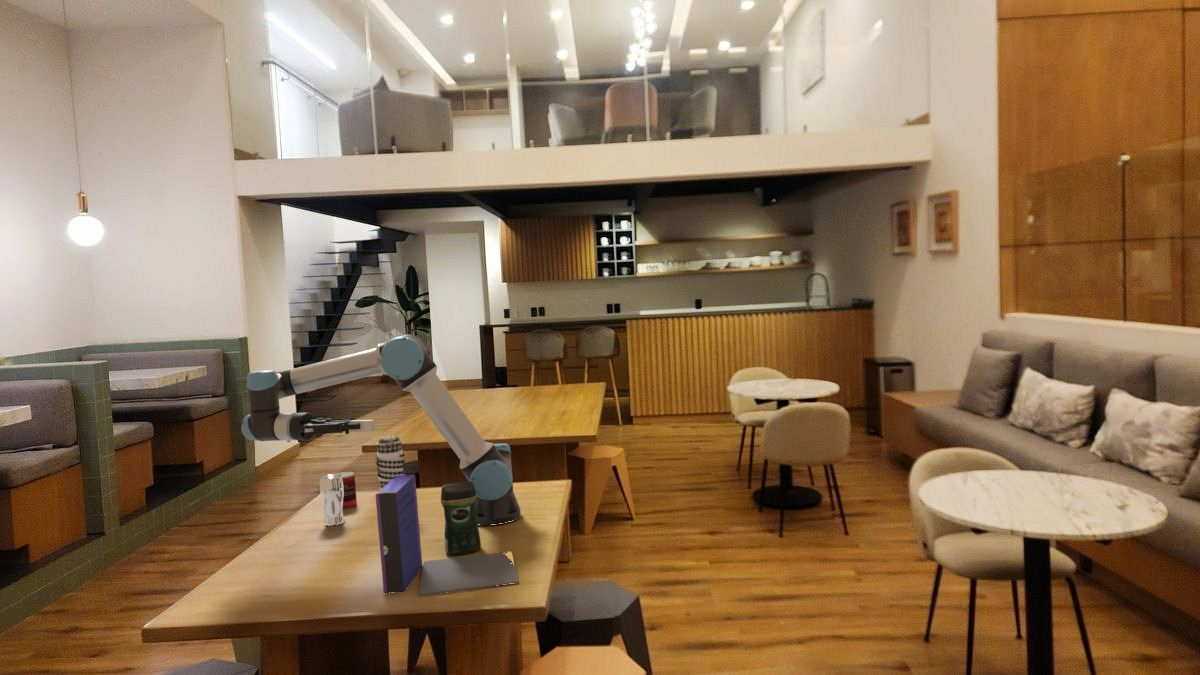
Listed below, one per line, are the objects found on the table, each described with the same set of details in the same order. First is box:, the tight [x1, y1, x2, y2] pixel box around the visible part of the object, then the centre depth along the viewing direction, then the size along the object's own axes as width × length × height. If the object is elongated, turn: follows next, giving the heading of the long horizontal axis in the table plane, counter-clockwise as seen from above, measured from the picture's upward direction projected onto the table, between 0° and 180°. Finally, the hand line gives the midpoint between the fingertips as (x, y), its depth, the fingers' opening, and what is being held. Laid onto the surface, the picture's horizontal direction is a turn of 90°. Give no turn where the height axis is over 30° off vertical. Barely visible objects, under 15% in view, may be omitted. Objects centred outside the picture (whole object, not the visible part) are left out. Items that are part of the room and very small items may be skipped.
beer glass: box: [319, 473, 346, 527], centre depth 236 cm, size 7×7×15 cm
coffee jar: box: [440, 480, 482, 556], centre depth 203 cm, size 10×8×19 cm
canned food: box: [335, 471, 358, 510], centre depth 256 cm, size 8×8×11 cm
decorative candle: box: [375, 435, 406, 491], centre depth 243 cm, size 9×9×25 cm
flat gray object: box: [417, 551, 519, 597], centre depth 186 cm, size 23×22×1 cm
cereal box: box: [375, 474, 423, 594], centre depth 184 cm, size 17×5×24 cm, turn 179°
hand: (372, 425), depth 199 cm, fingers closed
